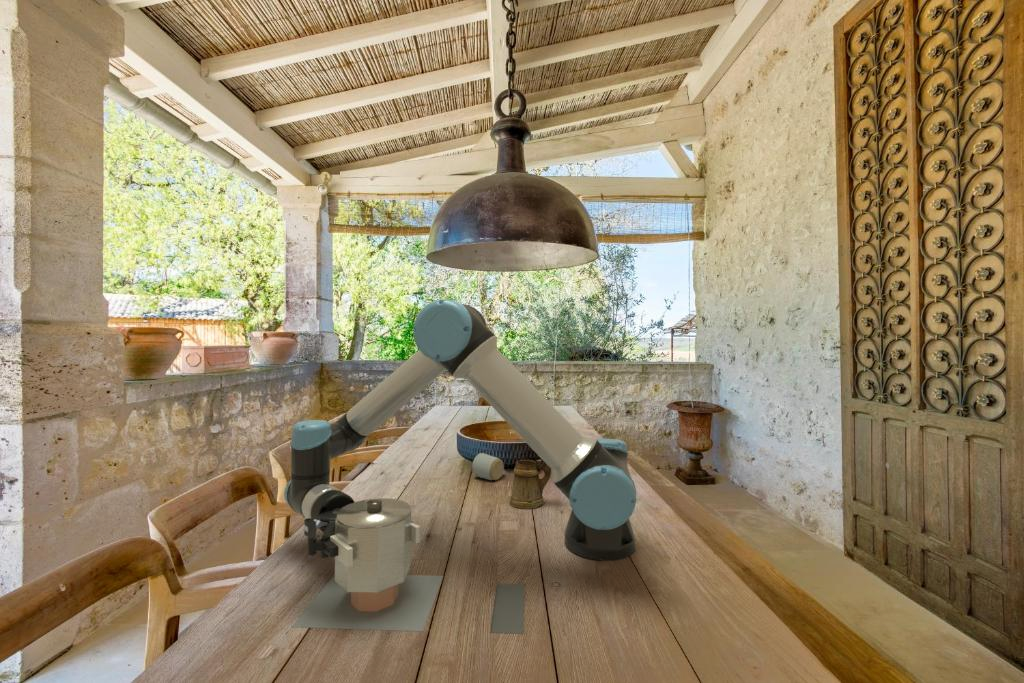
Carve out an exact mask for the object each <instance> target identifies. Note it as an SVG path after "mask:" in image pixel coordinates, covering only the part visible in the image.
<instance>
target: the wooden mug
mask: <svg viewBox="0 0 1024 683" xmlns="http://www.w3.org/2000/svg"><path fill="white" fill-rule="evenodd" d="M513 468H514V469H513V474H514V475H513V481H512V491H511V495H510V497H509V498H510V499H509V505H510V506H512V507H513V508H516V509H520V508H521V509H520V510H531V509H537V508H539V506H540V507H541V506H542V505H543V504H544V502H545V501H544V497H543V496H544V495H543V490H544V489H545V487H546V485H547V484H548V483H549V481H550V478H551V477H552V470H551V468H550V467H549V466H548V465H547V464H546V463H545V462H544V461H543V460H542V459H541V458H540V459H536V461H535V460H532V459H520V460H516V461H515V466H514V467H513ZM541 470H542V471H543V472H544V475H543V477H542V478H540V474H541V473H542V472H541ZM522 508H523V509H522Z"/></svg>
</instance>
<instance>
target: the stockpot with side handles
mask: <svg viewBox="0 0 1024 683" xmlns="http://www.w3.org/2000/svg"><path fill="white" fill-rule="evenodd" d="M411 521H412V509H411V506H410V504H409V503H408V502H407V501H403V500H402V499H396V498H385V497H384V498H383V497H381V498H379V497H378V498H370V499H364V500H358V501H354V503H351V504H349V505H346V506H344V507H343V508H341V509H340V510H339V511H338V512H337V518H336V524H335V535H336V536H337V537H338V538H340V539H341V540H342V541H344V542H345V543H346V544H348V545H349V546H350V547H352V548H353V566H351V567H346V566H345V565H344V564H343V563H342V562H340V561H339V560H338V559H337V558H335V557H334V575H335V581H336V582H337V583H338V584H339V585H340V586H341V587H343V588H344V589H345V590H346V591H347V592H375V593H378V592H380V591H382V590H385V589H387V588H390V587H392V586H394V585H397V584H399V583H402V582H404V580H405V578H406V576H407V575H408V573H409V571H410V569H411V559H412V558H411V554H412V553H411V552H412V551H411V549H412V548H411V546H412V541H411Z"/></svg>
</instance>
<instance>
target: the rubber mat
mask: <svg viewBox="0 0 1024 683" xmlns="http://www.w3.org/2000/svg"><path fill="white" fill-rule="evenodd" d="M495 588H496V589H495V595H494V601H493V609H492V610H493V611H492V617H491V623H490V624H491V625H490V631H489V633H490V634H508V635H509V634H511V635H524V634H525V633H524V632H525V605H526V604H525V602H526V598H525V597H526V596H525V595H526V583H508V582H507V583H504V582H501V583H498V582H497V583H496V587H495Z"/></svg>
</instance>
